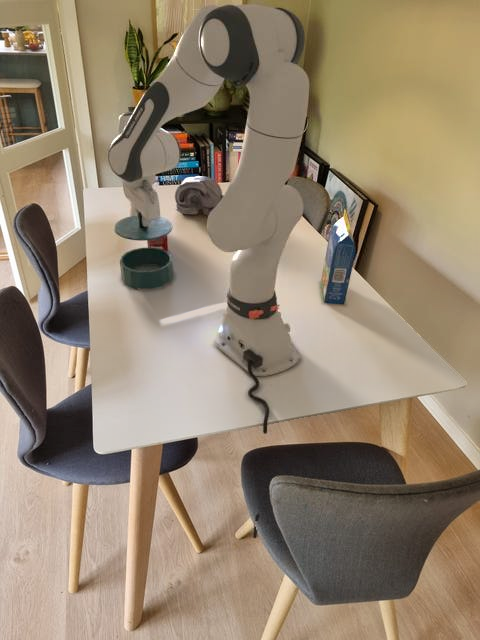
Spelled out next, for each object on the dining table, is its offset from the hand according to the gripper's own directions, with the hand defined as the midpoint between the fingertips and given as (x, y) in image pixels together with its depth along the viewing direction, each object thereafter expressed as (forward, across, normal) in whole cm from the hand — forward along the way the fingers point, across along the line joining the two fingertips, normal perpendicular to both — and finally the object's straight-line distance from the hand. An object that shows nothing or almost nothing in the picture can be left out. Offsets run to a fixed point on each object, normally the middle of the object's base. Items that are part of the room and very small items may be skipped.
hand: (143, 223), depth 129 cm
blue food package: (+18, -33, -47) cm, 60 cm away
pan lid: (+2, 0, 0) cm, 2 cm away
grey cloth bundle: (+18, +40, -37) cm, 58 cm away
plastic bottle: (+18, +42, -12) cm, 47 cm away
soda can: (+18, +14, -9) cm, 25 cm away
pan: (+18, 0, 0) cm, 18 cm away
